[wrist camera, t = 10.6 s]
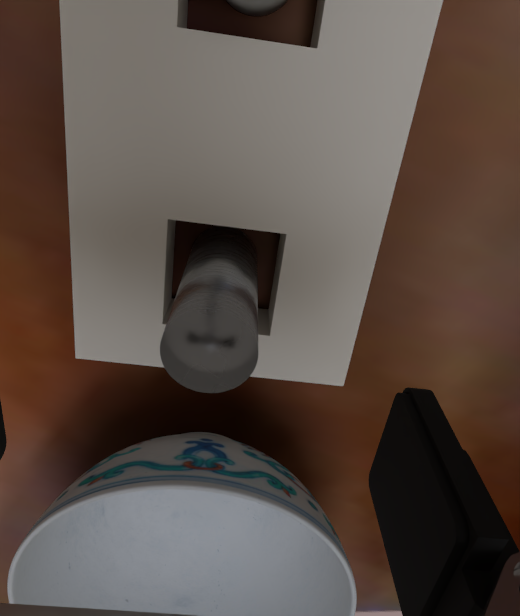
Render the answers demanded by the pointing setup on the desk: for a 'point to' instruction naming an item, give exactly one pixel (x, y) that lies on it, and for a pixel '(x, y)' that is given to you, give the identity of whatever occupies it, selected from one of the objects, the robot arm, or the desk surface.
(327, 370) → the pin board
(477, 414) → the desk surface
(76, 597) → the chinaware
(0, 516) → the desk surface
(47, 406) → the desk surface
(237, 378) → the steel pin
